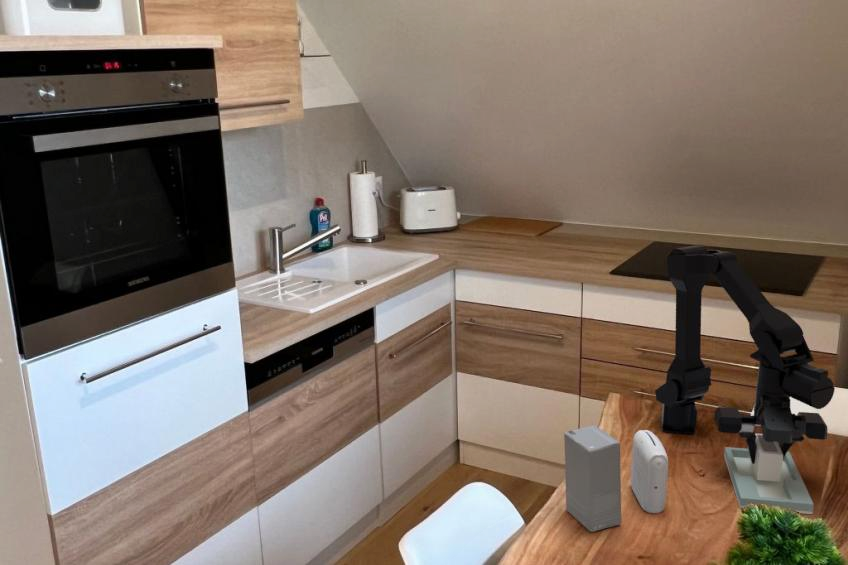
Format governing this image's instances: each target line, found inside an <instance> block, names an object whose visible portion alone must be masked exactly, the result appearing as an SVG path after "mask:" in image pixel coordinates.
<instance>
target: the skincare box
mask: <svg viewBox="0 0 848 565" xmlns="http://www.w3.org/2000/svg"><path fill="white" fill-rule="evenodd" d="M563 436H564V437H563V438H564V439H563V440H564V442H563V443H564V468H565V470H564V471H565V507H566V508H565V510H566V511H567V512H568V513H569V514H570V515H571V516H572V517H573V518H574V519H575V520H577V521H578V522H579V523H580V524H581V525H582V526H583V527H585V528H586V529H587V531H589V532H590V533H594V532H597V531H600V530H603V529H606V528H611V527H615V526H619V525H621V523H622V490H621V489H622V482H621V477H622V476H621V475H622V474H621V473H622V472H621V470H622V469H621V442H620V441H618V440H617V439H616V438H614V437H613V436H611V435H609V433H607V432H606V431H604V430H603V429H602V428H600V427H599V426H597V425H596V424H592V425H588V426H584V427H581V428H577V429H573V430H568V431H565V432H563Z"/></svg>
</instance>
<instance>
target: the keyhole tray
mask: <svg viewBox="0 0 848 565" xmlns="http://www.w3.org/2000/svg"><path fill="white" fill-rule="evenodd" d="M749 456H750V455H749V451H748V448H746V447H745V448H744V447H743V448H742V447H732V446H731V447H729V446H725V447H724V455H723V457H724V460H725V464H726V467H727V469H728V473H729V477H730V479H731V483H732V486H733V489H734V492H735V496H736V499H737V502H738V505H739V508H740V509H745V508H744V507H745V506H746V505H747V504H751V503H752V504H765V505H768V506H773V505H774V506H779V507H782V508H791V509H793V510H795V511H797V512H799V513H798V514H803V515H805V514H806V515H813V513H814V505H815V504H814V501H813V500H812V497H811V495H810V494H809V491H808V489H807V487H806V483H804V480H803V478H802V476H801V473H800V471H799V469H798V467H797V465H796V462H795V461H794V459H793V456H792V454H791V452H790V451H787V453H786V455H785V456H784V458H783V461H782V470H781V478H780V482H777V481H765V480H757V478H756V476H755V473H754V470H753V468H752V465H751V462H750V459H749Z"/></svg>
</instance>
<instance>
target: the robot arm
mask: <svg viewBox="0 0 848 565" xmlns="http://www.w3.org/2000/svg"><path fill="white" fill-rule="evenodd" d="M737 259H738V258H737V257H736V255H735V254H734V253H733V252H732V251H731V252H730V251H728V250H727V251H726V250H725V251H721V250H717V249H707V248H706V247H705V246H704V245H701V244H699V245H698V244H697V245H691V246H684V247H678V248H674V249H672V250H671V251H670V252H669V253H668V254H667V258H666V267H667V276H668V279H669V280H670V283H671V284H672V285H673V287H674V289H675V338H674V339H675V343H674V344H675V348H674V350H675V351H674V352H675V354H674V358H673V360H672V362H671V363H670V365H669V367H668V369H667V373H666V378H665V383H663V384H662V385H660V386H659V387H658V388H656V389H655V391H654V392H655V398H656V399H655V400H656V401H657V402H659V403H661V404H662V408H661V409H662V410H661V417H660V418H659V419H660V425H661V426H660V427H661V431H662V432H663V433H671V434H672V433H676V434H686V435H687V434H688V435H694V434H695V428H697V420H698V408H697V405H696V402H698V401H702V400H703V398H704V396H705V395H706V394H707V393H708V392H709V390H710V387H711V386H712V381H711V380H712V379H711V374H712V368H711V367H710V366H707V365H706V364H705V362H704V361H703V360H702V358H701V345H702V343H701V341H702V338H701V336H702V298H703V297H702V293H703V292H702V291H703V289H704V287H705V286H706V284H707V282H708V280H709V278H710V275H711V274H712V275H713V276H714V278H715V279H716V280H717V281H718V283H719V285H721V287H722V289H724V291H725V292H726V294H728V296H729V298H730V299H731V301H733V303H734V304H735V305H736V306H737V308H738V309H739V310H740V312H741V313H742V315H743V316H744V317H745V318H746V320H747V323H748V327H749V328H748V329H749V336H750V337H751V339H752V340H753V342H754V344H755V345H756V347H757V350H756V351H754V352H753V353H750V354H749V356H750V358H751V359H753V360H755V361H758V362H759V363H758V374H757V380H756V381H757V382H756V383H757V384H756V385H755V386H756V387H755V398H754V399H755V400H754V405H753V415H752V414H751V415H750V414H740V411H739V408H738V407H729V406H727V407H725V406H718V407H717V408H716V409H715V411H714V422H715V424H716V428H717V431H718V432H720V433H724V434H737V435H738V436H739V438H743V439H745V442H746V447H747V449H748V451H749V455H750V458H751V462H752V464H754V463H755V440H756V435H755V427H759V428H761V432H762V433H761V434H763V439H764V440H765V441H767V442H778V444H779V447H780V449H781V451H782V453H783V458H784V456H785V455H786V453H787V452H789V450H790V448H792V446H793V445H794V444H796V443H797V442H803V441H804V440H805V437H806V438H808V439H809V440H827V437H828V425H827V423H826V422H825V420H824V418H823V417H822V416H821V415H820V414H819V413H818V412H808V411H807V412H804V411H803V412H802V411H799V412H797V414H796V413H792V410H791V398H792V399H794V400H796V401H798V402H801V403H803V404H805V405H806V406H809V407H811V408H813V409H816V410H821V409H823V408H826V407H827V406H828V404H830V402H831V401H832V399H833V397H834V394H835V386H834V382H833V380H832V379H831V378H830V377H828V375H829V371H828V370H826V369H824V368H822V367H820V368H819V367H816V366H813V365H811V364H810V363H813V362H814V357H813V355H812V353H811V350H810V348H809V346H808V344H807V342H806V339H805V337H804V331H803V329H802V327H801V326H800V325H799V324H798V323H797V321H796V320H795V319H793V318H792V317H791V316H790V315H789V314H788V313H787V312H785V311H783V310H781V309H778V308H776V307H775V306H773V304H772V303H771V302H770V301H769V300H768V299H767V297H766V296H765V295H764V294H763V292H761V290H760V288H758V286H757V285H756V284H755V283H754V281H753V280H752V279H751V277H749V275H748V273H747V272H746V271H745V270H744V269H743V267H742V266H741V265H740V263H739V262H738V260H737ZM791 352H795V354H790V355H787V356H784V355H783V354H787V353H791ZM804 436H805V437H804Z"/></svg>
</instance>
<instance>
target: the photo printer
mask: <svg viewBox="0 0 848 565" xmlns="http://www.w3.org/2000/svg"><path fill="white" fill-rule="evenodd" d="M631 453H632V454H631V468H630V478H629V479H630V488H631V490H632V492H633V493H634V496H635V498H636V500H637V502H638V503H639V506H640V507H641V508H642V510H643V511H645V512H647V513H648V514H649V513H650V514H660V513H661V512H662V511H664V510H665V507H666V497H667V486H668V474H669V472H668V471H669V458H668V455H667V451H666V450H665V447H664V445H663V444H662V442H661V440H660V439H659V438H658V436H657V435H656V434H655V433H654V432H652V431H650V430H648V429H645V430H643V429H639V430H638V431H637V432H635V433H634V435H633V439H632V452H631Z"/></svg>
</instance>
